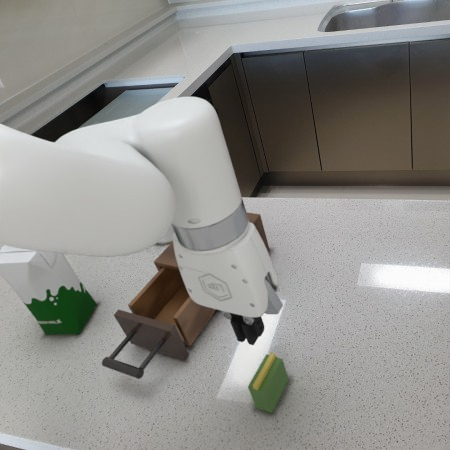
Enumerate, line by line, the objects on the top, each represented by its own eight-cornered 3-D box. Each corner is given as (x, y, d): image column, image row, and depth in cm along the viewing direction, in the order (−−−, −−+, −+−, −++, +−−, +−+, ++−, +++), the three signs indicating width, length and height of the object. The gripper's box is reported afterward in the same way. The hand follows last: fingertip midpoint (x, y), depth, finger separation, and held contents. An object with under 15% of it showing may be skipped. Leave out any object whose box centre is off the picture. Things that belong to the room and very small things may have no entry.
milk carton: (104, 300, 88) (53, 217, 76) (81, 339, 81) (21, 254, 69) (63, 302, 89) (7, 221, 77) (37, 340, 82) (-29, 257, 70)
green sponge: (289, 379, 67) (281, 354, 64) (272, 413, 64) (262, 389, 60) (273, 375, 68) (265, 350, 65) (255, 408, 65) (245, 383, 61)
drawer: (159, 398, 67) (140, 368, 63) (103, 377, 72) (82, 348, 68) (234, 291, 83) (224, 261, 78) (184, 279, 87) (171, 251, 83)
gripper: (130, 233, 48) (186, 343, 59) (257, 255, 41) (293, 375, 52) (173, 192, 53) (217, 301, 64) (292, 207, 46) (318, 325, 58)
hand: (251, 334), depth 58 cm, fingers closed
